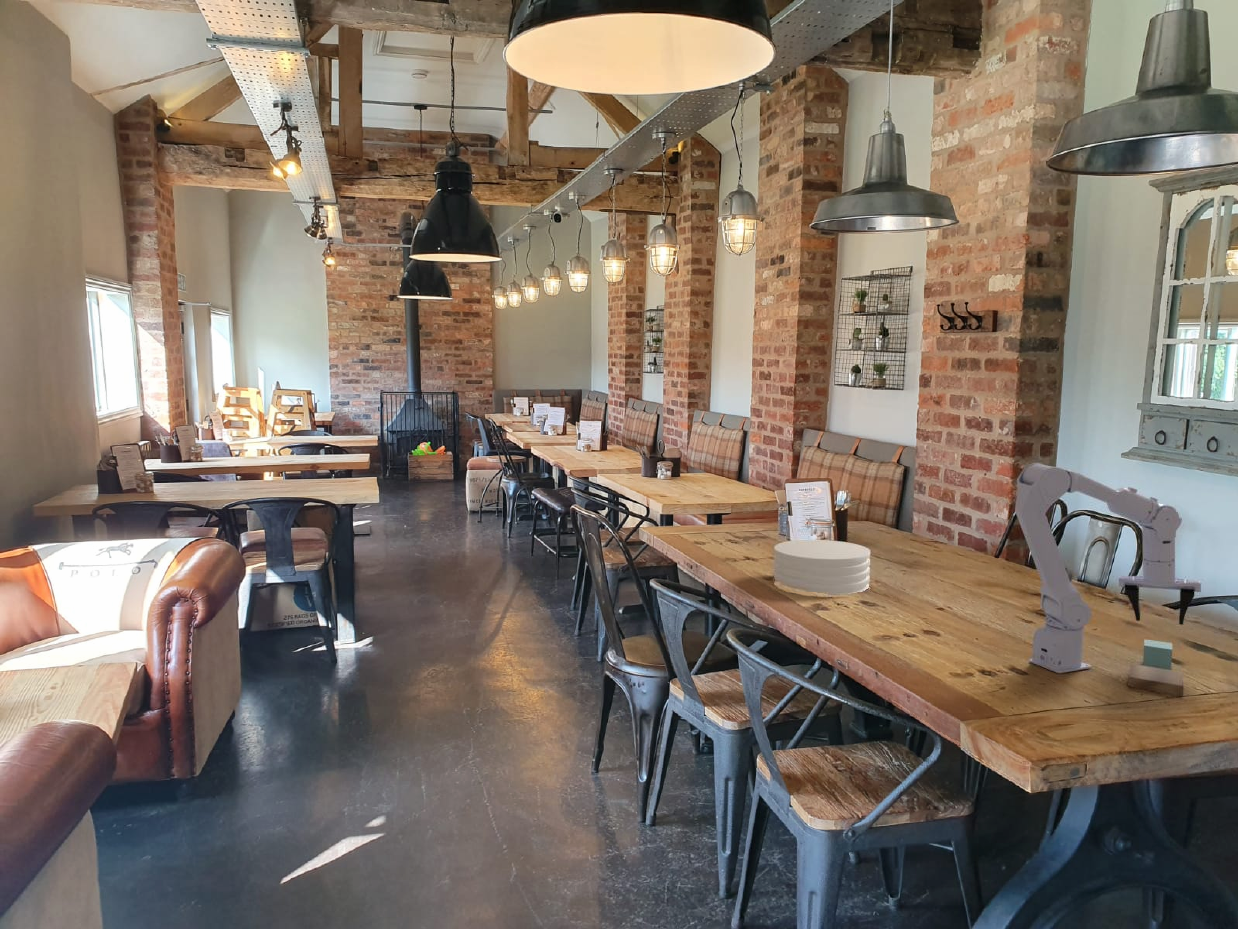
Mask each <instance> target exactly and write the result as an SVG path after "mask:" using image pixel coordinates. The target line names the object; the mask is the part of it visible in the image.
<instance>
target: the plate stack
mask: <svg viewBox="0 0 1238 929" xmlns="http://www.w3.org/2000/svg"><path fill="white" fill-rule="evenodd" d="M773 552H774V556H773V560H774V563H773V577H774V578H773V579H776V580H777V581H778V582H780V583H781V584H783V585H786V586H788V587H791V588H793V589H799V590H803V591H806V592H817V593H825V594H826V593H827V594H828V595H840V594H852V593H857V592H863V591H865V590H866V589H868V588H869V589H870V587H869V585H870V582H871V577H870V573H871V568H870V565H871V558H870V557H871V550H870V549H869V548H868V547H865V546H864V545H861V544H857V543H852V542H848V541H847V542H846V541H838V540H831V539H830V540H828V539H798V540H790V541H789V540H787V541H783V542H780V543H777V544H775V545H774V547H773Z"/></svg>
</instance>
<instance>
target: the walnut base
mask: <svg viewBox="0 0 1238 929" xmlns="http://www.w3.org/2000/svg"><path fill="white" fill-rule="evenodd" d="M1183 674H1184V673H1183V671H1178V670H1172V669H1171V670H1166V669H1160V668H1154V667H1148V666H1143V665H1142V664H1141V665H1140V664H1133V663H1130V664H1129V675H1128V687H1129V686H1130V688H1134V689H1135V688H1136V689H1140V688H1141V689H1142V690H1146V691H1147V690H1148V691H1153V692H1158V691H1160V692H1159V693H1164V694H1168V695H1169V694H1171V695H1175V696H1176V695H1177V696H1181V695H1182V697H1184V688H1185V687H1184V686H1185V685H1184V675H1183Z"/></svg>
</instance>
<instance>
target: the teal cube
mask: <svg viewBox="0 0 1238 929" xmlns="http://www.w3.org/2000/svg"><path fill="white" fill-rule="evenodd" d="M1143 640H1144V641H1143V657H1142V658H1143V659H1142V666H1148V667H1154V668H1160V669H1166V670H1172V661H1173V643H1172V642H1166V641H1160V640H1159V641H1158V640H1153V639H1145V638H1144V639H1143Z"/></svg>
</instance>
